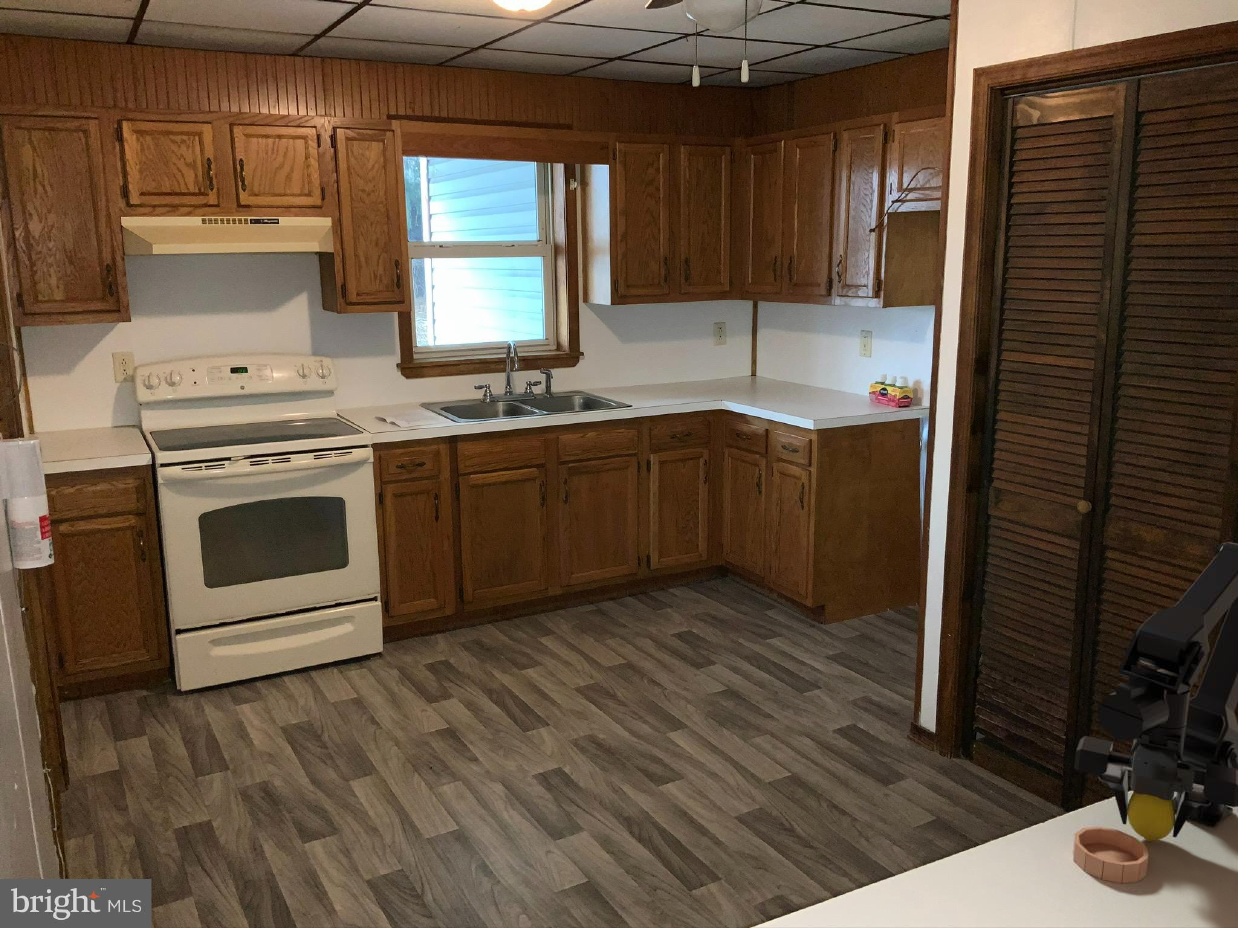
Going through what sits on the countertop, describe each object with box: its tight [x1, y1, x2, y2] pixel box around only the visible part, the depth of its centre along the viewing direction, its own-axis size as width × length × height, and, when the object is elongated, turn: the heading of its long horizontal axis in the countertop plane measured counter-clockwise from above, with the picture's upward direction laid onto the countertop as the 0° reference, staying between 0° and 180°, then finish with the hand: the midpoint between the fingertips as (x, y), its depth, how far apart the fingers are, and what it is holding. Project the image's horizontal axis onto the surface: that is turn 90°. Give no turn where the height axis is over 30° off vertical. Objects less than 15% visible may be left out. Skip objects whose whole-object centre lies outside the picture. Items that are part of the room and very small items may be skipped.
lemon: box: [1127, 791, 1176, 842], centre depth 131 cm, size 6×6×8 cm
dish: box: [1072, 826, 1149, 884], centre depth 127 cm, size 8×8×2 cm
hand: (1149, 829), depth 132 cm, fingers closed on lemon, 5 cm apart
